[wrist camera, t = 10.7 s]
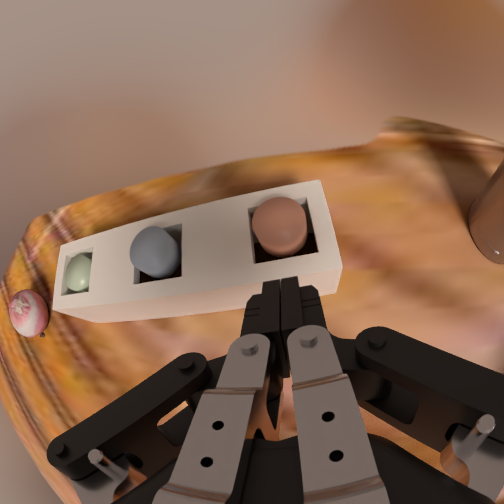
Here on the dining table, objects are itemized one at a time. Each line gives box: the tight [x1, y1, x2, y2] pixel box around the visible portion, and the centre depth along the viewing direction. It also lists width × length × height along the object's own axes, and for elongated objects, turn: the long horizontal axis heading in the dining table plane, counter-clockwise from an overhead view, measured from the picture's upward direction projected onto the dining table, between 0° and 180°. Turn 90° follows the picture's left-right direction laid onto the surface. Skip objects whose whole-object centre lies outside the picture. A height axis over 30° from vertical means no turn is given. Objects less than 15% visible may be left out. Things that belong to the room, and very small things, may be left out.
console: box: [52, 179, 343, 323], centre depth 27 cm, size 30×8×8 cm, turn 96°
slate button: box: [130, 226, 182, 279], centre depth 23 cm, size 4×4×2 cm
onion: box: [9, 289, 49, 337], centre depth 31 cm, size 8×8×7 cm
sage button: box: [65, 254, 92, 293], centre depth 26 cm, size 4×4×2 cm
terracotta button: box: [252, 197, 307, 257], centre depth 21 cm, size 4×4×2 cm
